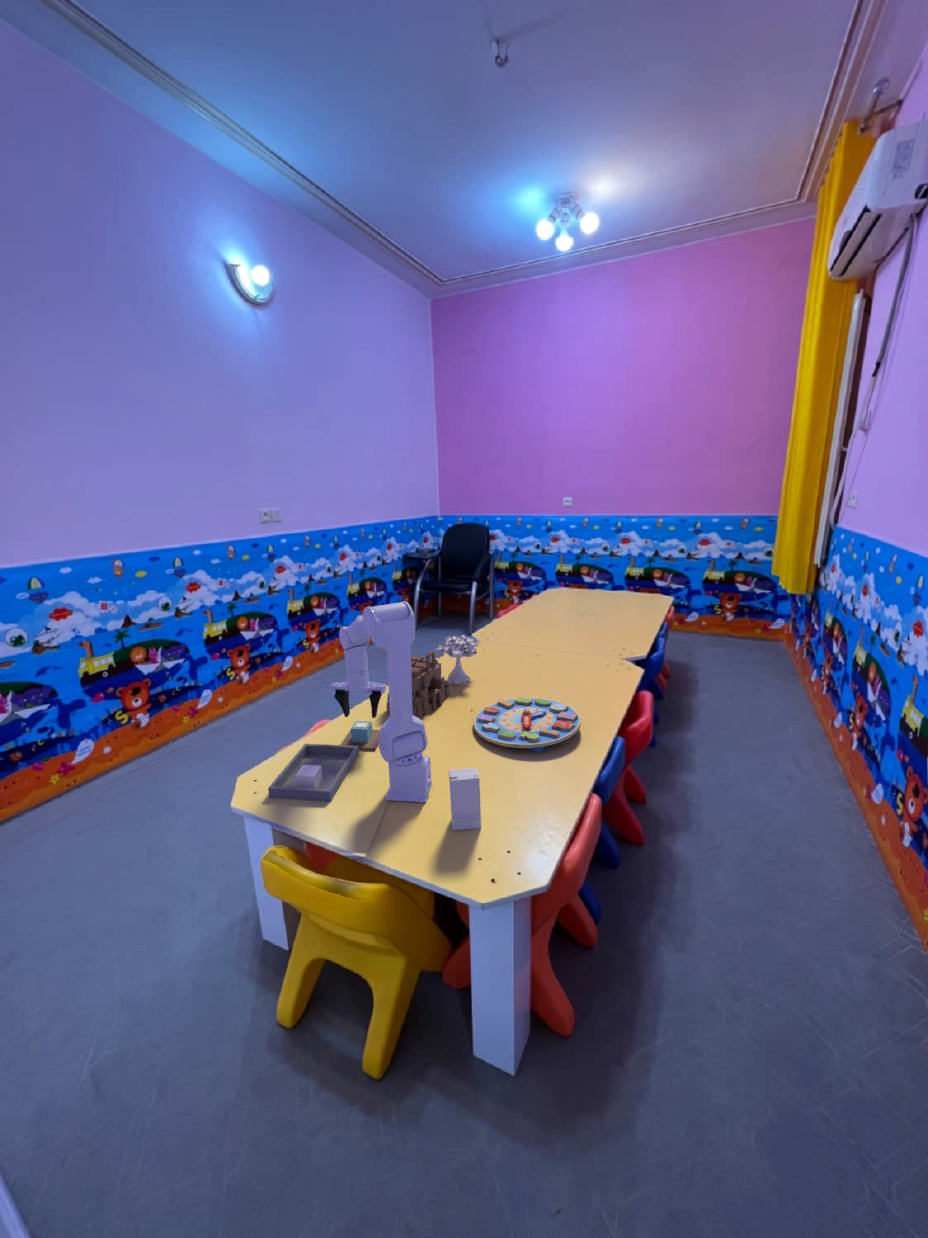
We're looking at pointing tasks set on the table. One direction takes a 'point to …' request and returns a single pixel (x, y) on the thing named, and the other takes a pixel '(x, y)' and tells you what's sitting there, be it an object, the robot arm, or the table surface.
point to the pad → (368, 746)
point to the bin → (334, 772)
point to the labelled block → (361, 731)
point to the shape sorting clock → (527, 723)
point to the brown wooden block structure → (426, 685)
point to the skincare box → (465, 798)
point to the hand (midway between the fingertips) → (360, 715)
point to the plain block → (309, 776)
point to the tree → (457, 655)
